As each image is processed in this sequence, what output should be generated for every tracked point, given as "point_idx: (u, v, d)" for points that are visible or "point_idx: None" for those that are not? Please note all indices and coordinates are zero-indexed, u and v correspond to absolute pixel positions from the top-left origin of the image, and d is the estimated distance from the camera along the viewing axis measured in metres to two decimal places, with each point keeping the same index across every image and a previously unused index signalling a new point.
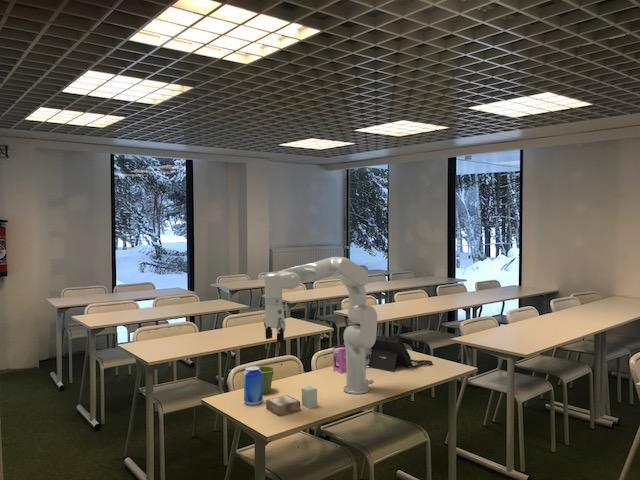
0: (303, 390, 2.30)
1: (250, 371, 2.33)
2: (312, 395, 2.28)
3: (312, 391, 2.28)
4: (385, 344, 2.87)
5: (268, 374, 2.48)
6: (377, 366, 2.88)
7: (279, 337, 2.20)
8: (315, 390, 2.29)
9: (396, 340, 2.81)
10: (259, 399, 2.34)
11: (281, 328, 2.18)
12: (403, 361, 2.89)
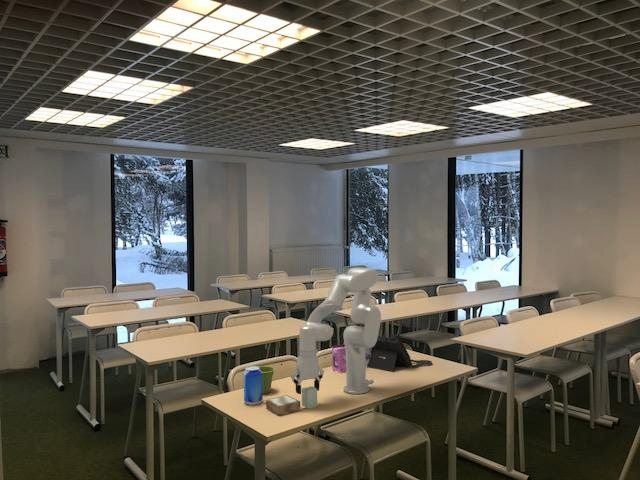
0: (303, 390, 2.30)
1: (250, 371, 2.33)
2: (312, 395, 2.28)
3: (312, 391, 2.28)
4: (385, 344, 2.86)
5: (268, 374, 2.48)
6: (377, 366, 2.88)
7: (318, 385, 2.32)
8: (315, 390, 2.29)
9: (396, 340, 2.81)
10: (259, 399, 2.34)
11: (322, 375, 2.33)
12: (403, 361, 2.89)
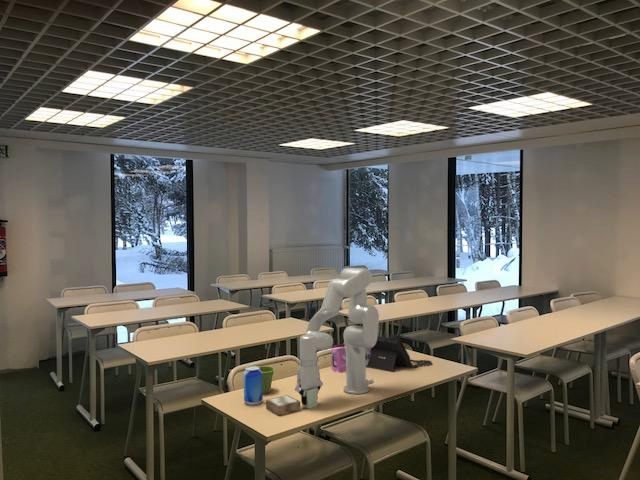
0: None
1: (250, 371, 2.33)
2: (312, 395, 2.28)
3: (312, 391, 2.28)
4: (384, 344, 2.86)
5: (268, 374, 2.48)
6: (376, 366, 2.88)
7: None
8: (315, 390, 2.29)
9: (395, 340, 2.81)
10: (259, 399, 2.34)
11: (320, 386, 2.33)
12: (403, 361, 2.89)
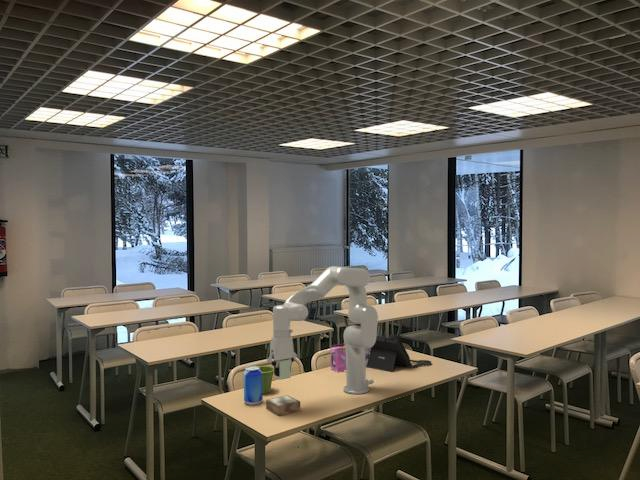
0: None
1: (250, 371, 2.33)
2: (285, 366, 2.24)
3: (285, 362, 2.24)
4: (384, 344, 2.86)
5: (268, 374, 2.48)
6: (376, 366, 2.88)
7: (290, 368, 2.27)
8: (288, 361, 2.25)
9: (395, 340, 2.81)
10: (259, 399, 2.34)
11: (293, 358, 2.28)
12: (402, 361, 2.89)
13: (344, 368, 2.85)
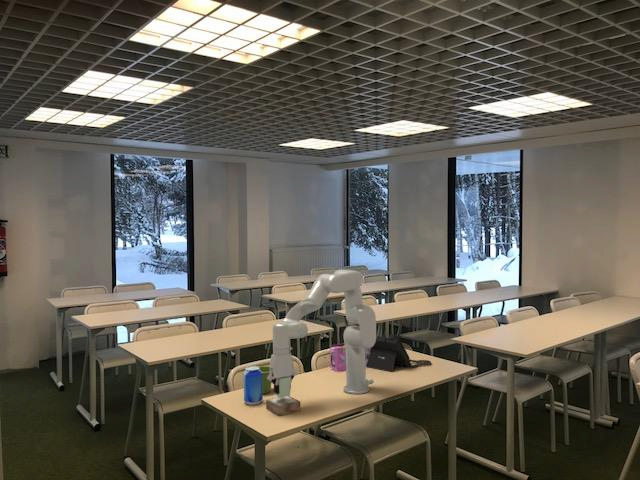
0: None
1: (250, 371, 2.33)
2: (285, 384, 2.24)
3: (285, 380, 2.24)
4: (384, 344, 2.86)
5: (268, 374, 2.48)
6: (376, 366, 2.88)
7: (290, 386, 2.27)
8: (288, 379, 2.25)
9: (395, 340, 2.81)
10: (259, 399, 2.34)
11: (293, 376, 2.28)
12: (402, 361, 2.89)
13: (343, 368, 2.85)
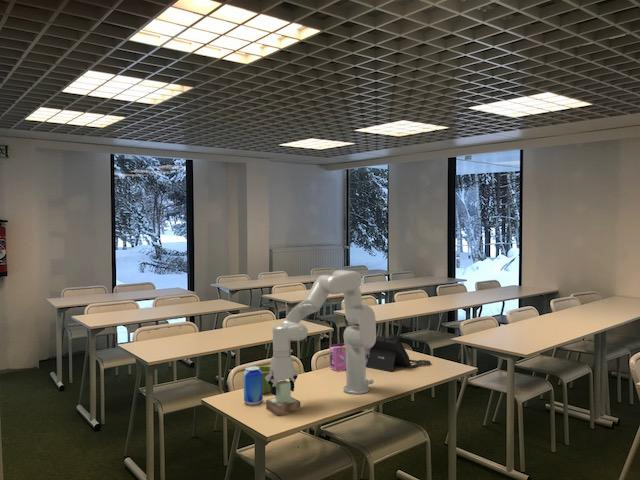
0: (276, 384, 2.25)
1: (250, 371, 2.33)
2: (285, 389, 2.24)
3: (285, 385, 2.24)
4: (383, 344, 2.86)
5: None
6: (375, 366, 2.88)
7: (293, 385, 2.28)
8: (288, 384, 2.25)
9: (394, 340, 2.81)
10: (259, 399, 2.34)
11: (296, 375, 2.29)
12: (402, 361, 2.89)
13: (343, 368, 2.86)
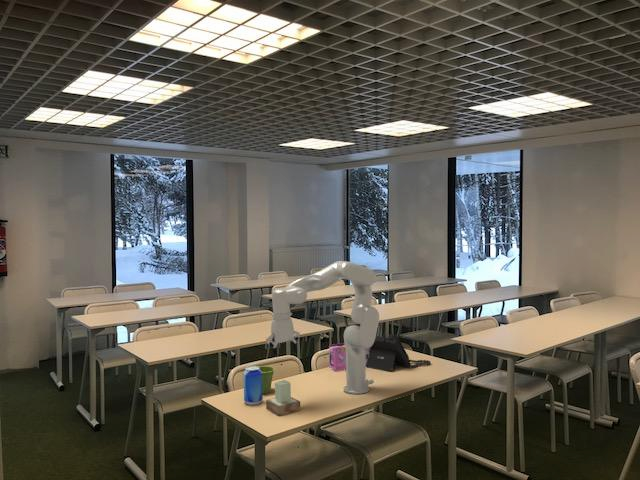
0: (276, 384, 2.25)
1: (250, 371, 2.33)
2: (285, 389, 2.24)
3: (285, 385, 2.24)
4: (383, 344, 2.86)
5: (268, 374, 2.48)
6: (375, 366, 2.88)
7: (295, 347, 2.34)
8: (288, 384, 2.25)
9: (394, 340, 2.81)
10: (259, 399, 2.34)
11: None
12: (401, 361, 2.89)
13: (342, 367, 2.86)
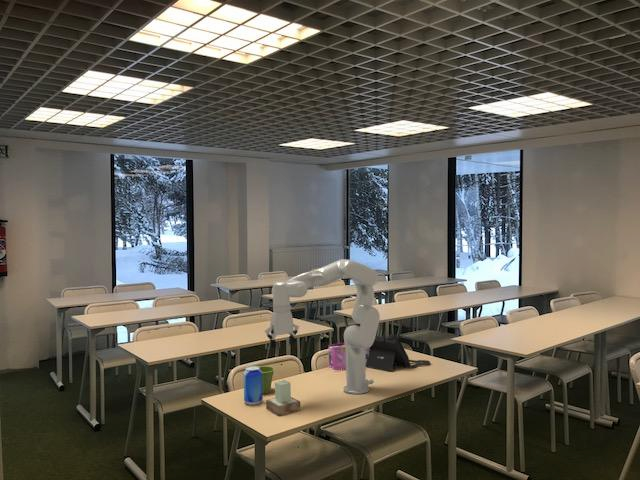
0: (276, 384, 2.25)
1: (250, 371, 2.33)
2: (285, 389, 2.24)
3: (285, 385, 2.24)
4: (383, 344, 2.86)
5: (268, 374, 2.48)
6: (375, 366, 2.88)
7: (293, 340, 2.35)
8: (288, 384, 2.25)
9: (394, 340, 2.81)
10: (259, 399, 2.34)
11: (297, 330, 2.36)
12: (401, 361, 2.89)
13: (341, 367, 2.87)
